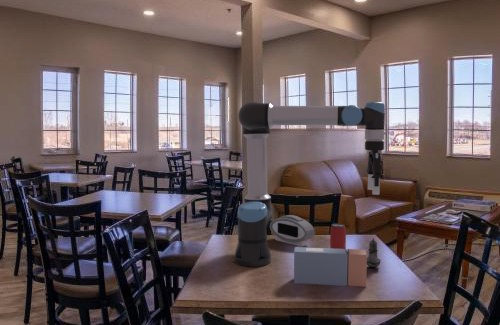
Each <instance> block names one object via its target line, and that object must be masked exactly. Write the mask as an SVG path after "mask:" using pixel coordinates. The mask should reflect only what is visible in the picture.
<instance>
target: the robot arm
mask: <svg viewBox="0 0 500 325" xmlns="http://www.w3.org/2000/svg"><path fill="white" fill-rule="evenodd" d="M385 108H386V106H385V102H382V101H381V102H380V101H377V102H376V101H375V102H374V101H373V102H371V101H370V102H366V103H365V107H359V106H357V105H355V104H351V105H273V104H272V103H270V102H268V103H267V102H266V103H265V102H258V101H249V102H246V103H244V104H243V105H241V107H240V109H239V111H238V116H237V118H238V121H239V123H240V125H241V126H242V136H243V137H245V138H246V166H247V167H246V170H247V171H246V172H247V174H246V176H247V194H246V195H245V196H244V200H243V203H241V204H240V205H239V206H238V209H237V245H236V248H235V251H234V254H233V262H234V263H235V264H236V265H239V266H242V267H251V268H252V267H253V268H255V267H262V266H267V265H269V264H271V262H272V254H271V252H270V248H269V245H268V240H267V239H268V237H267V236H268V235H267V234H268V231H267V230H268V225H269V224H270V223H271V222H272V218H273V215H274V214H273V213H274V210H273V207H272V196H271V195H270V194H269V193H268V159H267V158H268V157H267V156H268V150H267V148H268V147H267V138H268V137H269V136H270V134H271V127H273V126H338V127H358V126H359V127H363V126H364V127H365V128H364V139H365V140H366V141H364V150H366V151H368V160H367V170H366V171H367V191H368V190H370V191H371V193H372V195H376V196H378V195H380V192H381V190H380V189H381V177H382V170H381V153H380V152H379V151H384V150H385V141H383V140H385V135H386V134H387V133H386V132H385V126H386V125H385V123H386V122H385V121H386V110H385Z"/></svg>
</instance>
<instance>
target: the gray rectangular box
mask: <svg viewBox="0 0 500 325" xmlns="http://www.w3.org/2000/svg"><path fill="white" fill-rule="evenodd" d="M293 250H294V251H293V252H294V253H293V284H295V285H298V284H305V285H322V286H323V285H324V286H342V287H343V286H344V287H347V286H348V283H347V264H348V253H347V248H346V249H333V248H330V247H327V248H326V247H307V246H303V247H300V246H294V249H293Z"/></svg>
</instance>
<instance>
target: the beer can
mask: <svg viewBox="0 0 500 325" xmlns="http://www.w3.org/2000/svg"><path fill="white" fill-rule="evenodd" d="M345 226H346V225H345V224H343V223H332V224H331V227H330V232H329V233H330V234H329V236H330V240H329V242H330V243H329V245H330V246H329V248H333V249H346V250H347V248H346V247H347V244H346V243H347V229H346V227H345Z"/></svg>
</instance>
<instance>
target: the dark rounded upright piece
mask: <svg viewBox="0 0 500 325" xmlns="http://www.w3.org/2000/svg"><path fill="white" fill-rule="evenodd" d="M368 247H369V248H368V256H367V270H369V271H378V270H380V268H379V266H380V264H381V261H382V260H381V258H378V251H379V249H378V242H377V240H375V238H372V240H370V241H369V246H368Z"/></svg>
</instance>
